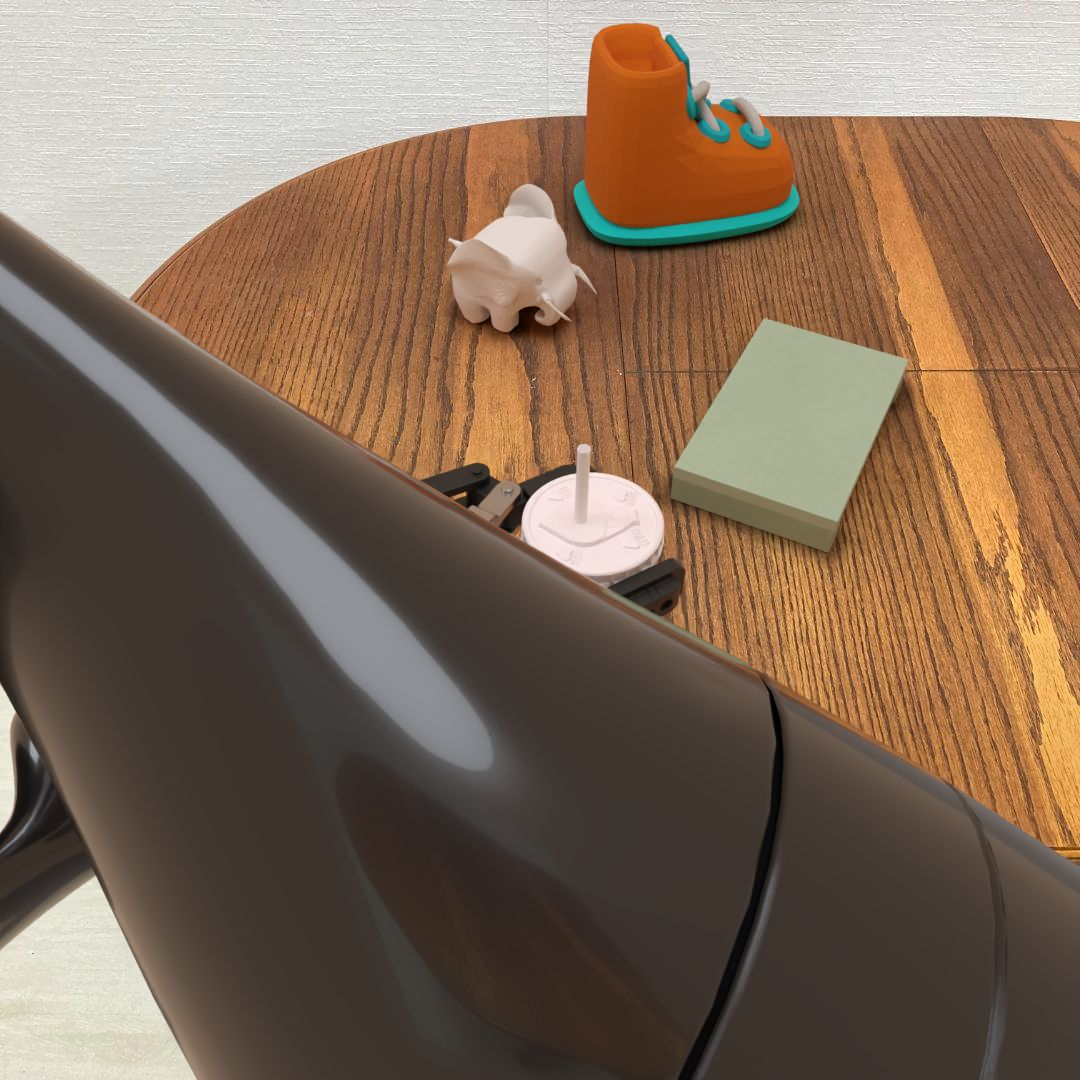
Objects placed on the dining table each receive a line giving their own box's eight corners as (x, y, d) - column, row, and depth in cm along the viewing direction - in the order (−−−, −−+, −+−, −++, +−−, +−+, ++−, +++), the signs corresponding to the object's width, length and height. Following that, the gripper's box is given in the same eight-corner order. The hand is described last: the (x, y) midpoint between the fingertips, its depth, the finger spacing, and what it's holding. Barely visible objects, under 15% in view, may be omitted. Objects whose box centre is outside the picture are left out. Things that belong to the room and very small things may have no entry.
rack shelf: (828, 553, 71) (838, 521, 69) (669, 498, 75) (673, 466, 72) (899, 391, 82) (909, 359, 80) (757, 349, 85) (763, 317, 83)
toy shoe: (815, 232, 96) (851, 61, 85) (597, 261, 93) (605, 88, 82) (764, 163, 104) (792, -2, 93) (562, 188, 101) (565, 20, 90)
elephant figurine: (556, 369, 84) (558, 268, 77) (421, 323, 87) (412, 224, 81) (610, 302, 89) (616, 203, 83) (481, 262, 93) (477, 164, 87)
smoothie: (516, 608, 58) (512, 402, 47) (637, 598, 58) (659, 392, 48) (528, 711, 53) (528, 508, 43) (659, 699, 54) (689, 496, 44)
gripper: (357, 762, 38) (743, 573, 44) (214, 505, 46) (554, 376, 52) (380, 863, 44) (720, 684, 49) (248, 618, 52) (552, 489, 58)
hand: (633, 526), depth 51 cm, fingers closed on smoothie, 6 cm apart
